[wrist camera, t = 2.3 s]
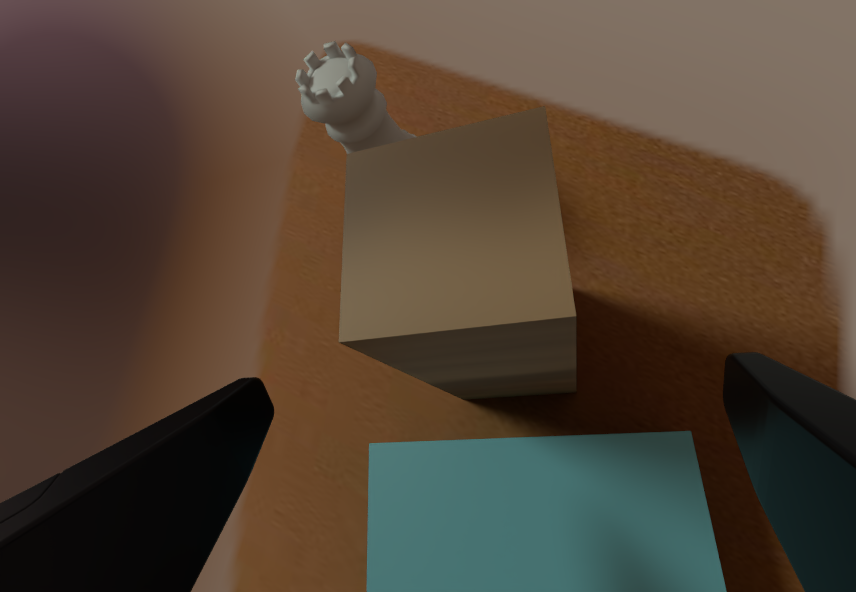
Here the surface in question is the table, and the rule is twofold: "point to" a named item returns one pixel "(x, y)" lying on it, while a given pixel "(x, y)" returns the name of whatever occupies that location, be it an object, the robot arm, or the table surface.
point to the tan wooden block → (461, 260)
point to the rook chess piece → (347, 99)
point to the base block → (540, 515)
